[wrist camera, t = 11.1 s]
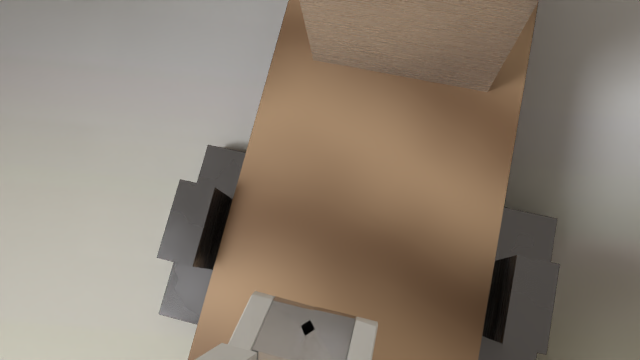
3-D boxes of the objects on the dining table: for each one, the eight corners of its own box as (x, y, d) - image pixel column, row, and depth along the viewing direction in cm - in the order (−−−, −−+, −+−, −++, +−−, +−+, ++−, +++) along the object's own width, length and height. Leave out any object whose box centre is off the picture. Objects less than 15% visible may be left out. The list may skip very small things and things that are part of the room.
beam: (388, 841, 16) (394, 1028, 12) (96, 725, 17) (11, 855, 13) (547, -87, 23) (585, -171, 19) (328, -115, 24) (320, -199, 20)
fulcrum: (520, 407, 21) (570, 445, 16) (167, 313, 24) (108, 318, 18) (549, 221, 23) (603, 200, 18) (214, 150, 25) (172, 112, 20)
